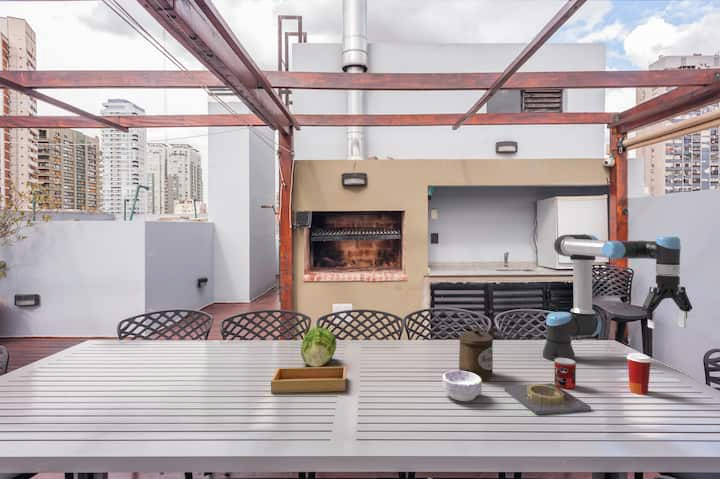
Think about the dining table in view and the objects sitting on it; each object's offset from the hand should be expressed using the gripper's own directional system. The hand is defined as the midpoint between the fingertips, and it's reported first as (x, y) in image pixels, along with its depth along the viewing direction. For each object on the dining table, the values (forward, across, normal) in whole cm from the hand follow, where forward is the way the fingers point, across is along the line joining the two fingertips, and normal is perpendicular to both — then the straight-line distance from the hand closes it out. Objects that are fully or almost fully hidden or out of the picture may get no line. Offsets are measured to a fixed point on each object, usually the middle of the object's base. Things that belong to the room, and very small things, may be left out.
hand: (666, 327), depth 154 cm
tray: (+28, -143, +27) cm, 148 cm away
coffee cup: (+28, -8, +4) cm, 29 cm away
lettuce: (+28, -139, +53) cm, 152 cm away
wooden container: (+28, -67, +30) cm, 79 cm away
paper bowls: (+28, -82, +8) cm, 87 cm away
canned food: (+28, -35, +13) cm, 46 cm away
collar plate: (+28, -51, +1) cm, 58 cm away
